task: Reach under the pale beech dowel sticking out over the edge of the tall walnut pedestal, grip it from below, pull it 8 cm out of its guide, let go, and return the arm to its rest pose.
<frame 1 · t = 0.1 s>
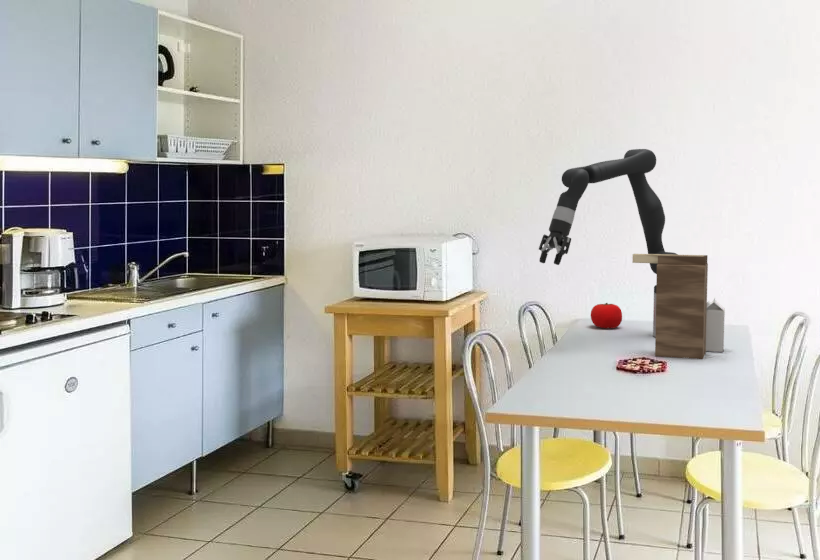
hand: (548, 263, 358), 31 cm above the table, tool tilted 20°, fingers open, 8 cm apart
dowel: (667, 259, 347), point 34 cm above the table, slide at 0.0 cm
tomato: (606, 328, 413), on the table
milk carton: (713, 351, 358), on the table
pedestal: (680, 354, 349), on the table
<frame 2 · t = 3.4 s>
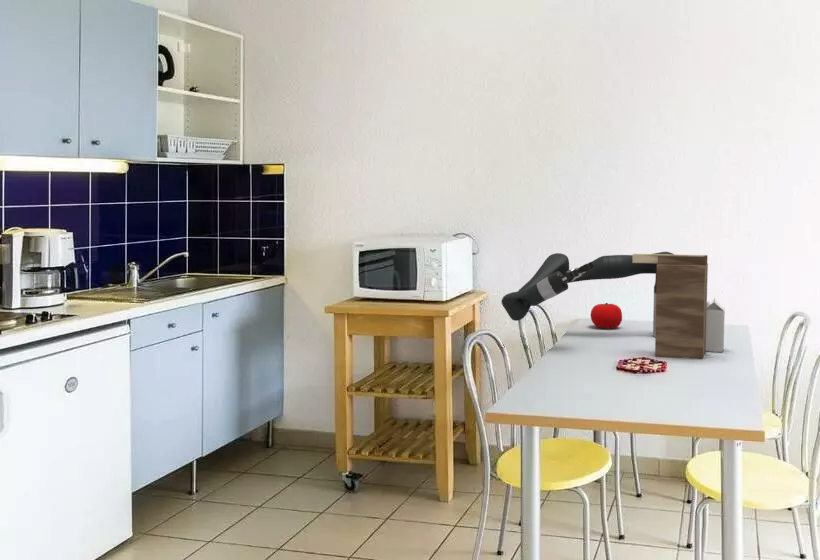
hand: (590, 264, 357), 31 cm above the table, tool pointing upward, fingers open, 8 cm apart
nothing on the table moved.
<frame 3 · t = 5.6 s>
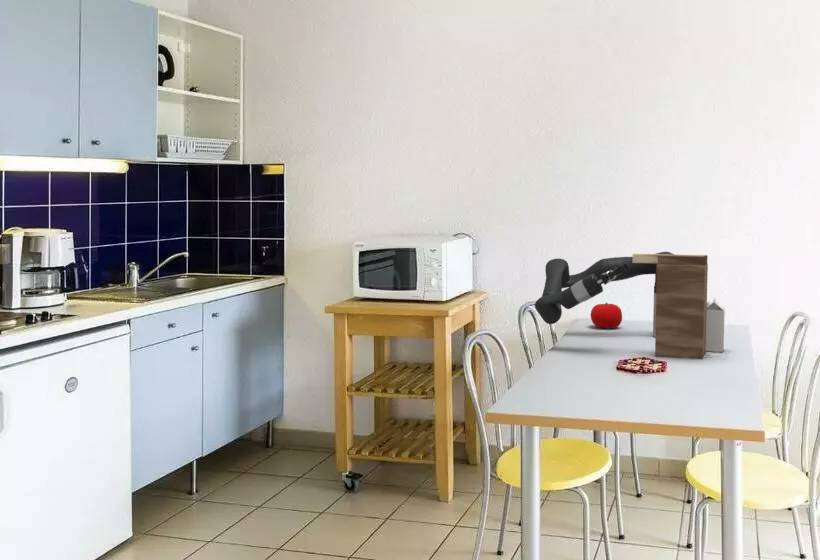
hand: (626, 266, 352), 31 cm above the table, tool pointing upward, fingers open, 8 cm apart
nothing on the table moved.
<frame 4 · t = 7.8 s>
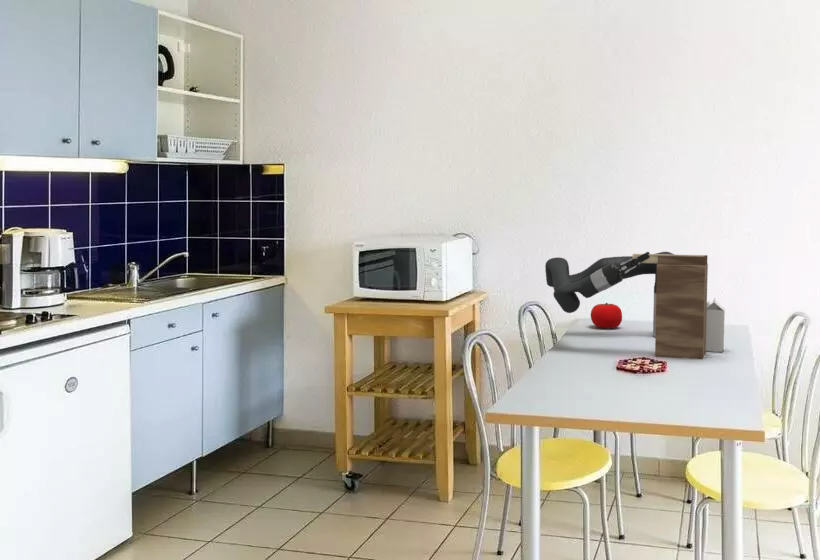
hand: (649, 254, 350), 35 cm above the table, tool pointing upward, fingers closed on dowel, 3 cm apart
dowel: (667, 259, 347), point 34 cm above the table, slide at 0.0 cm, touching gripper
everything else where it was.
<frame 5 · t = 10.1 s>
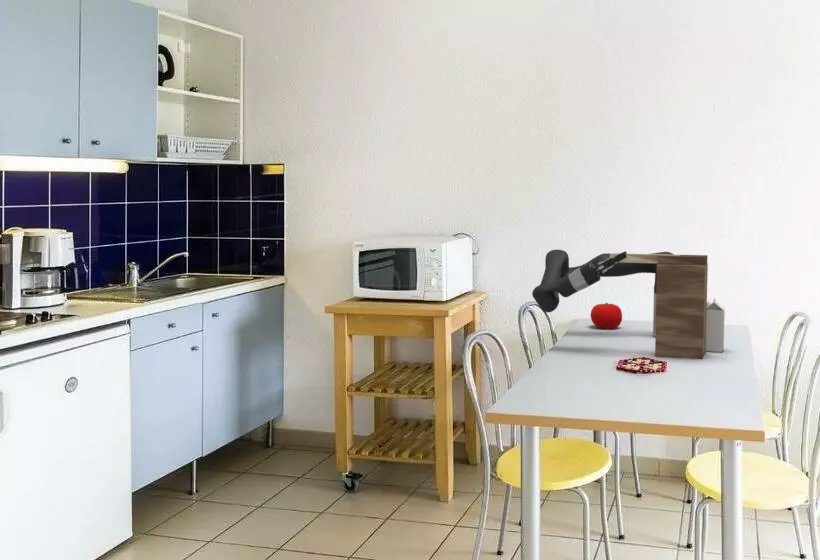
hand: (626, 254, 352), 35 cm above the table, tool pointing upward, fingers closed on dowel, 3 cm apart
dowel: (644, 258, 350), point 34 cm above the table, slide at 8.0 cm, touching gripper
everything else where it was.
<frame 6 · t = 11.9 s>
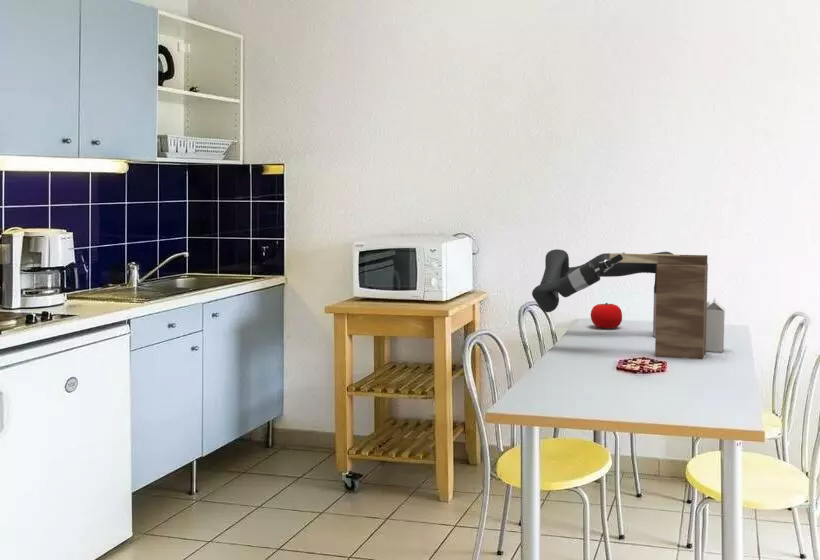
hand: (623, 255, 353), 35 cm above the table, tool pointing upward, fingers open, 8 cm apart
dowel: (644, 258, 350), point 34 cm above the table, slide at 8.0 cm
everything else where it was.
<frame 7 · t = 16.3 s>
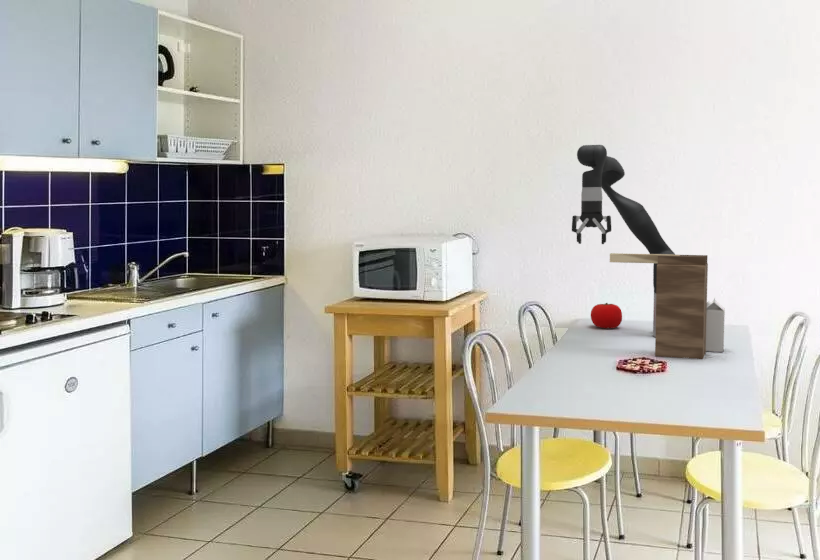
hand: (591, 243, 366), 38 cm above the table, tool pointing down, fingers open, 8 cm apart
nothing on the table moved.
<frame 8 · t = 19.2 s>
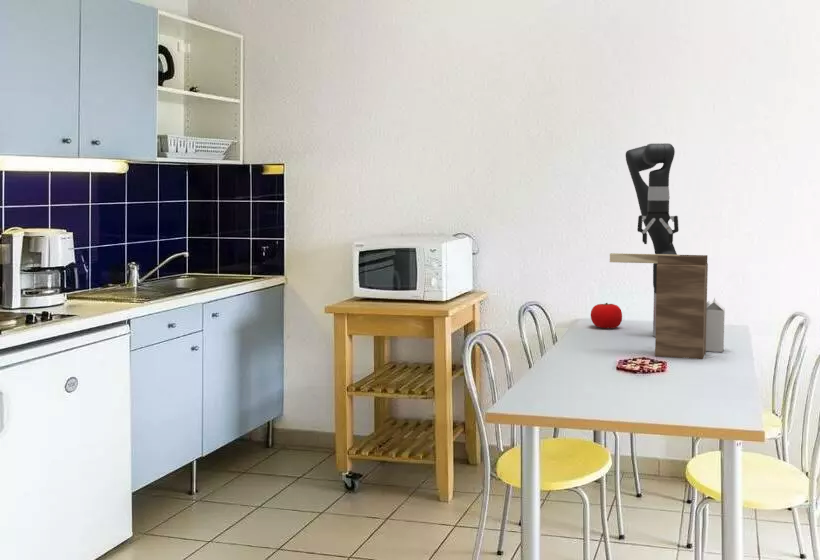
hand: (657, 244, 359), 38 cm above the table, tool pointing down, fingers open, 8 cm apart
nothing on the table moved.
at the end: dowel slide at 8.0 cm; the gripper is holding nothing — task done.
